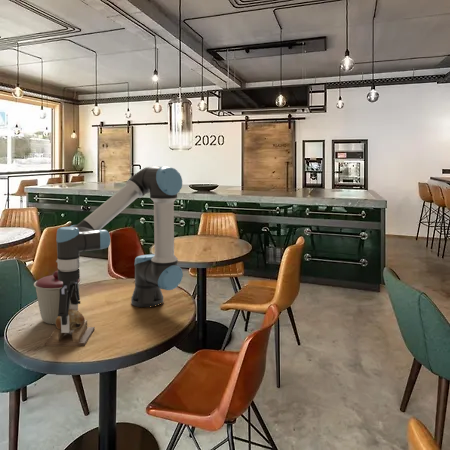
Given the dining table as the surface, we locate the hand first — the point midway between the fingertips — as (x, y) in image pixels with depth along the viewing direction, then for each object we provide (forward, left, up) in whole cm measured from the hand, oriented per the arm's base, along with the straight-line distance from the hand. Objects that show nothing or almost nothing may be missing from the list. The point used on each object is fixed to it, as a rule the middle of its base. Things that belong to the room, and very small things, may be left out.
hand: (70, 326), depth 147 cm
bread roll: (0, 0, 0) cm, 0 cm away
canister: (+10, -17, -5) cm, 20 cm away
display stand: (0, 0, -4) cm, 4 cm away
